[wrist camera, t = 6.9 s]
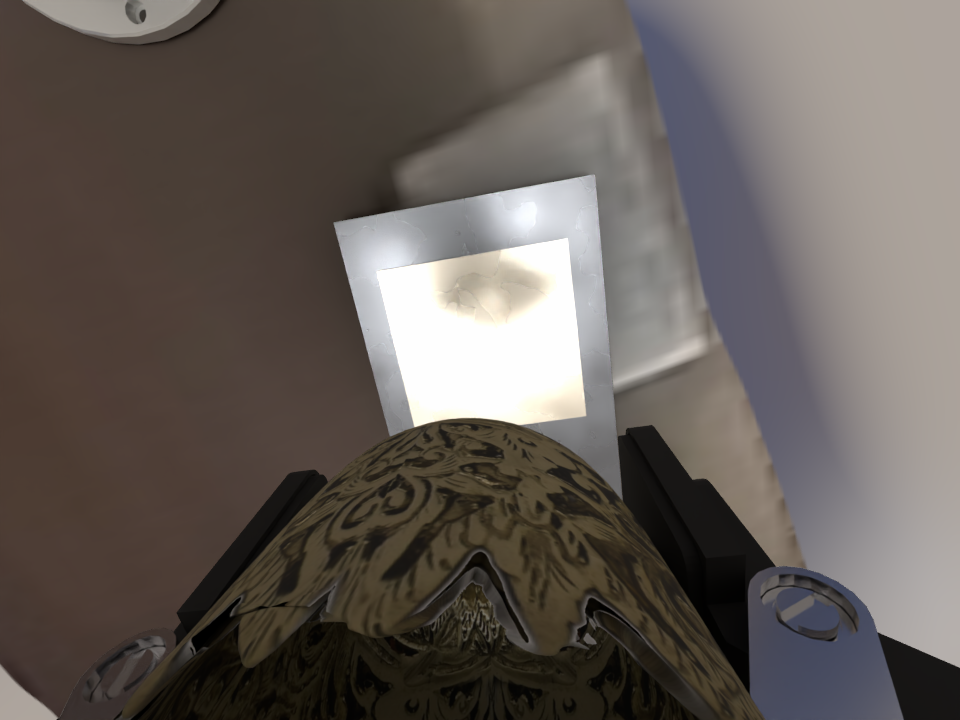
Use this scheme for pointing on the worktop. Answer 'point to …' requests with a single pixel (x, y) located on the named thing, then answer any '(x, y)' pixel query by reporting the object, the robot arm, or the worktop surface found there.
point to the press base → (491, 314)
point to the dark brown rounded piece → (453, 600)
